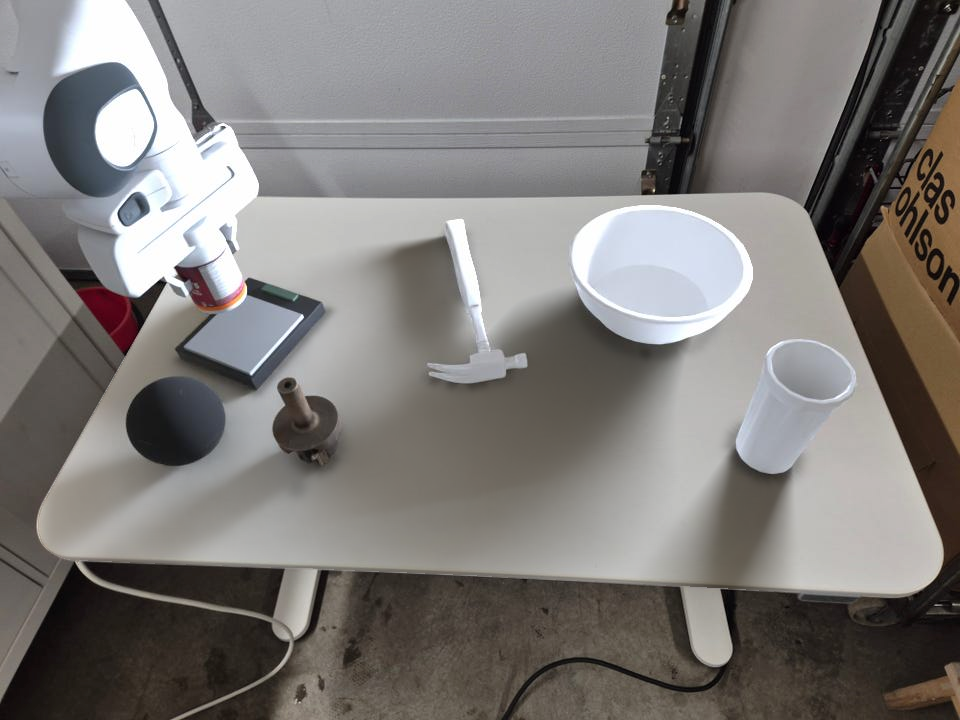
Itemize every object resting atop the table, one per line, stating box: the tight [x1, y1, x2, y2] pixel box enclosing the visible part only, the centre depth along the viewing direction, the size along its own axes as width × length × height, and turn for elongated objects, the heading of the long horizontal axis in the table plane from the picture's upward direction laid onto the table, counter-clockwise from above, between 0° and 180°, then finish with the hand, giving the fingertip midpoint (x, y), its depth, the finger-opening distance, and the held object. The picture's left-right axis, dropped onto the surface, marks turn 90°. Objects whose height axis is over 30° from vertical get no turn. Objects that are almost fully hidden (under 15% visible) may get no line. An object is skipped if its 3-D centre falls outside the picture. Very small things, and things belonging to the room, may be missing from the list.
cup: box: [735, 338, 858, 475], centre depth 62 cm, size 8×8×14 cm
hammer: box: [427, 218, 528, 384], centre depth 84 cm, size 12×30×3 cm, turn 10°
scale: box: [174, 277, 326, 391], centre depth 82 cm, size 15×13×3 cm
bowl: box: [568, 205, 753, 345], centre depth 80 cm, size 22×22×8 cm
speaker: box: [125, 375, 227, 467], centre depth 68 cm, size 10×10×10 cm
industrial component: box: [271, 376, 342, 466], centre depth 66 cm, size 9×7×12 cm
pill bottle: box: [173, 214, 247, 315], centre depth 69 cm, size 6×6×11 cm
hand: (208, 271), depth 70 cm, fingers closed on pill bottle, 6 cm apart
